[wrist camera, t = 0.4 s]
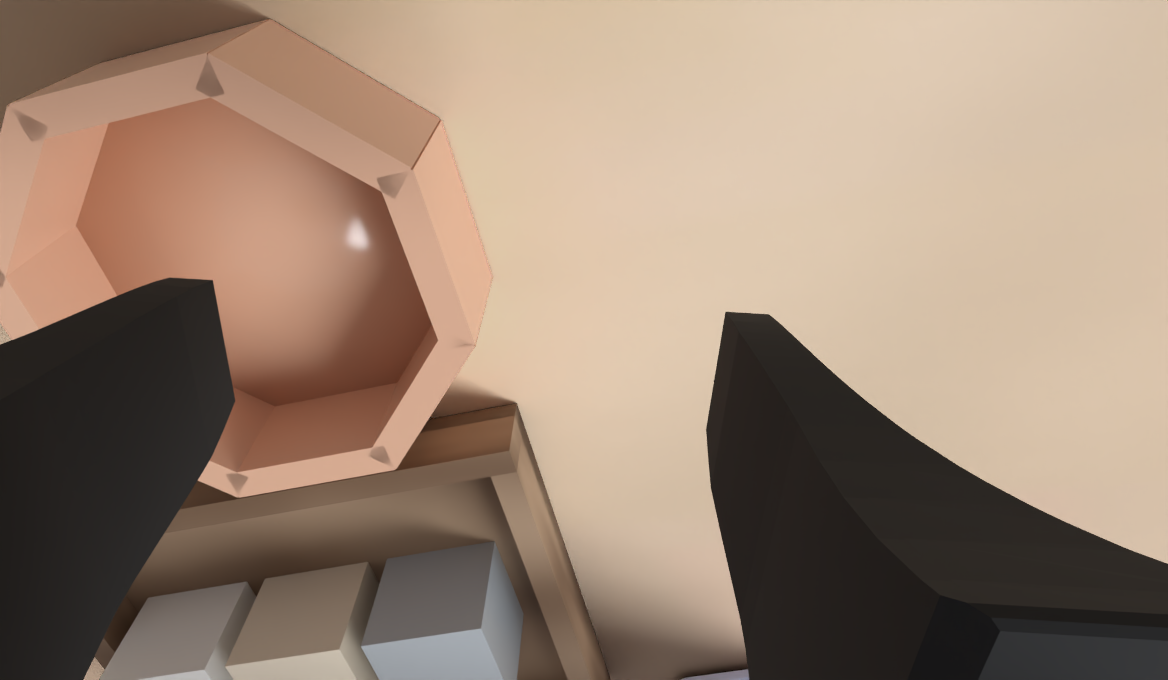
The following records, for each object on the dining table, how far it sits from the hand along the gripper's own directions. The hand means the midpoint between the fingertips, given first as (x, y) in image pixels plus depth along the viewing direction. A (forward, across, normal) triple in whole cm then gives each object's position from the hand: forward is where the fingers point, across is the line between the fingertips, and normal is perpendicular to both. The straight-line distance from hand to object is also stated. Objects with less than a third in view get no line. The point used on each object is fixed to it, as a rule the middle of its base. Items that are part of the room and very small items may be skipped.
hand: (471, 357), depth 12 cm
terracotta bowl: (+10, +6, +3) cm, 12 cm away
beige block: (+9, +6, +16) cm, 19 cm away
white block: (+9, +10, +17) cm, 22 cm away
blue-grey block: (+9, +2, +15) cm, 18 cm away
